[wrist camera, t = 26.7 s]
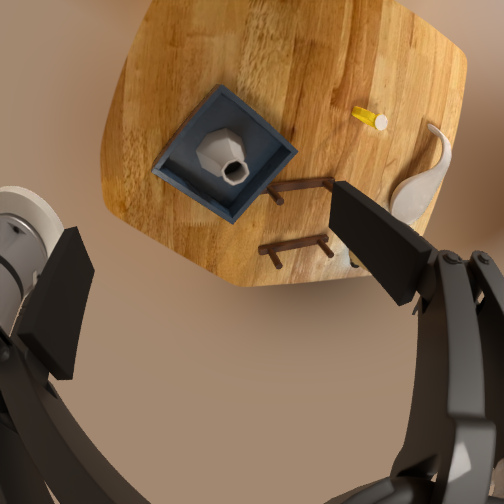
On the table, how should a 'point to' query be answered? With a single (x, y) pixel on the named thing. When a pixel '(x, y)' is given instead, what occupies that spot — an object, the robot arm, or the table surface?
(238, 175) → the flask
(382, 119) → the watch
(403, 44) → the table surface
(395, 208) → the spoon rest
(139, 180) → the table surface
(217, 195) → the basin
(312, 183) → the drying rack
